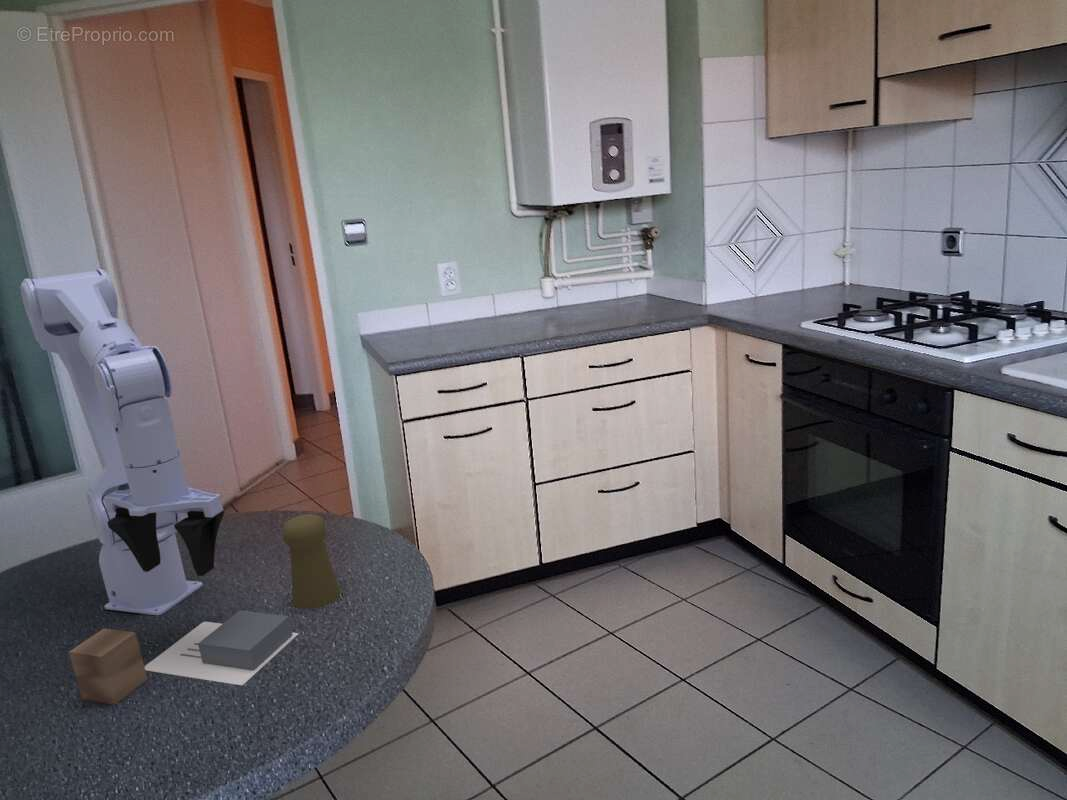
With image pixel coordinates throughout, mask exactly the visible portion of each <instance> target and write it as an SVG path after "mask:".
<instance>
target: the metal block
mask: <svg viewBox="0 0 1067 800" xmlns="http://www.w3.org/2000/svg"><path fill="white" fill-rule="evenodd" d="M221 624H222V625H221V626H220V627H218V628H217V629H216V630H214V631H213V632H212V633H211V634H209V635H208V636H207V637H206V638H204V639H203V640H202V641H201V642H199V643H198V646H199V650H200V654H201V658H202V662H203V663H205V664H212V665H219V666H226V667H233V668H240V669H246V670H253V671H254V670H255V669H256V668H257V667H258V666H259V665H260V664H262V663H263V662H264V661H265V660H266V659H267V658H268V657H269V656H270V655H271V654H273V653H274V652H275V651H276V650H277V649H278V648H279V647H280V646H281V645H282V644H283V643H285V642H286V641H287V640H288V639H289V638H290V637H291V636H292V635H293V634H292V632H293V630H292V629H293V628H292V625H291V624H292V623H291V620H290V616H289V615H285V614H284V615H281V614H273V613H266V612H257V611H256V612H255V611H248V610H238V611H237V612H236V613H234V615H232V616H230V618H228V619H227V620H226V621H225V622H223V623H221Z"/></svg>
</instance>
